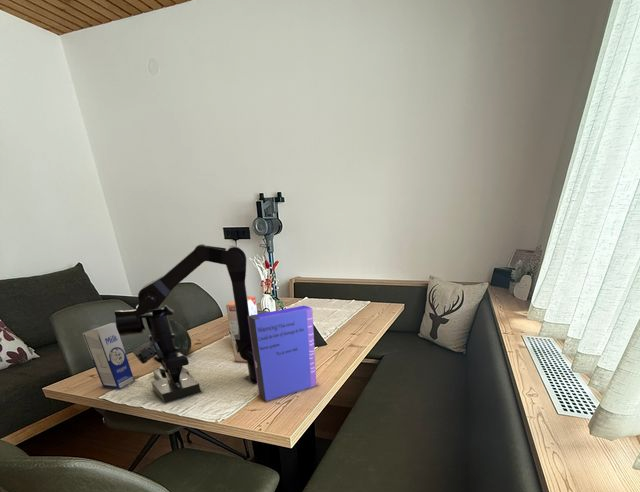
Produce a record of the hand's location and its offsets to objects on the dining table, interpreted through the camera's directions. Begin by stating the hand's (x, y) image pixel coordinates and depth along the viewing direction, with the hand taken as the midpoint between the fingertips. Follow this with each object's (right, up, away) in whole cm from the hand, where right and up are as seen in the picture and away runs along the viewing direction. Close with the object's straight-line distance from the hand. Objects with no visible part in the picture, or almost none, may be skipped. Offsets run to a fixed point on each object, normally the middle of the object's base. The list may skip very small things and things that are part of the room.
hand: (174, 381), depth 110 cm
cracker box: (+17, +12, +27) cm, 35 cm away
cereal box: (+35, -3, -1) cm, 36 cm away
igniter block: (-6, +3, +12) cm, 14 cm away
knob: (0, 0, 0) cm, 0 cm away
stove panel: (0, -3, +2) cm, 4 cm away
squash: (-13, +13, +31) cm, 36 cm away
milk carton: (-22, 0, +8) cm, 23 cm away
